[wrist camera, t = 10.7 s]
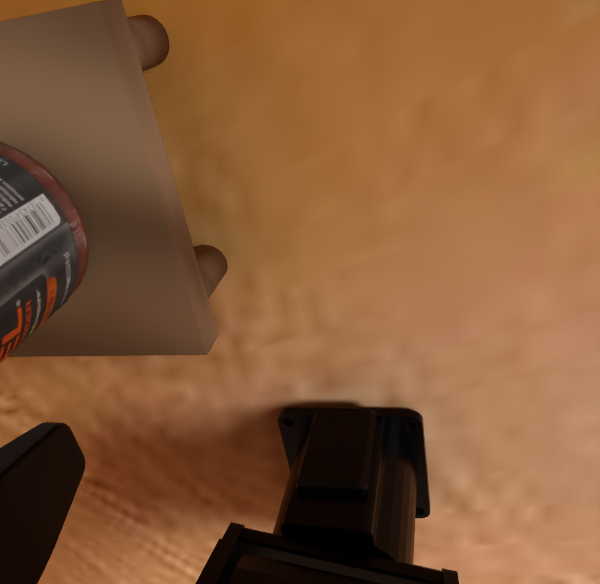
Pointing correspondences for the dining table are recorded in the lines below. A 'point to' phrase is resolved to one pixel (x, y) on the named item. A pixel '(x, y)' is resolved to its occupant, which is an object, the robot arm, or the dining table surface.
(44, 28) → the footstool
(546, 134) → the dining table surface
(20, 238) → the supplement bottle
